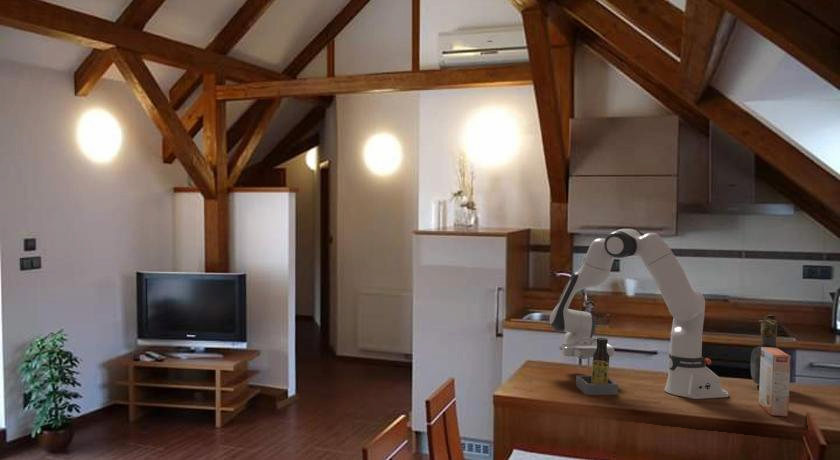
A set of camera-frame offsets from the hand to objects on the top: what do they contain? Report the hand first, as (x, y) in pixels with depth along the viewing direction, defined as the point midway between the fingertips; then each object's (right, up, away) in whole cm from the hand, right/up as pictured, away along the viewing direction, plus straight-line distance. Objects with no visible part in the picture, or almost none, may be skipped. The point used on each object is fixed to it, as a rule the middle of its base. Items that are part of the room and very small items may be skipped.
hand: (593, 354), depth 261 cm
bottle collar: (0, -13, -4) cm, 13 cm away
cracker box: (+56, -15, -26) cm, 63 cm away
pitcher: (+68, -14, +2) cm, 69 cm away
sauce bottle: (+2, -13, -4) cm, 14 cm away
